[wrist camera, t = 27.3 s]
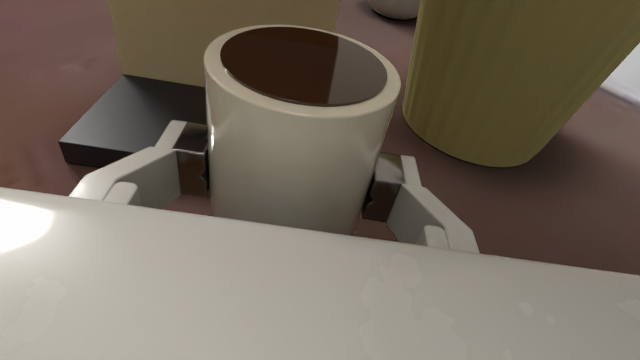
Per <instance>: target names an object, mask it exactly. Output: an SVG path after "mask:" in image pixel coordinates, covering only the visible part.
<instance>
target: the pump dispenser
mask: <svg viewBox="0 0 640 360" xmlns="http://www.w3.org/2000/svg"><path fill="white" fill-rule="evenodd" d="M366 1H367V3H368V4H369V5H370V7H371V8H372V9H373V10H375V11H376V12H377V13H379V14H381V15H383V16H386V17H389V18H393V19H401V20H405V19H411V18H415V17H417V16H418V12H419V6H420V0H366Z"/></svg>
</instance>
